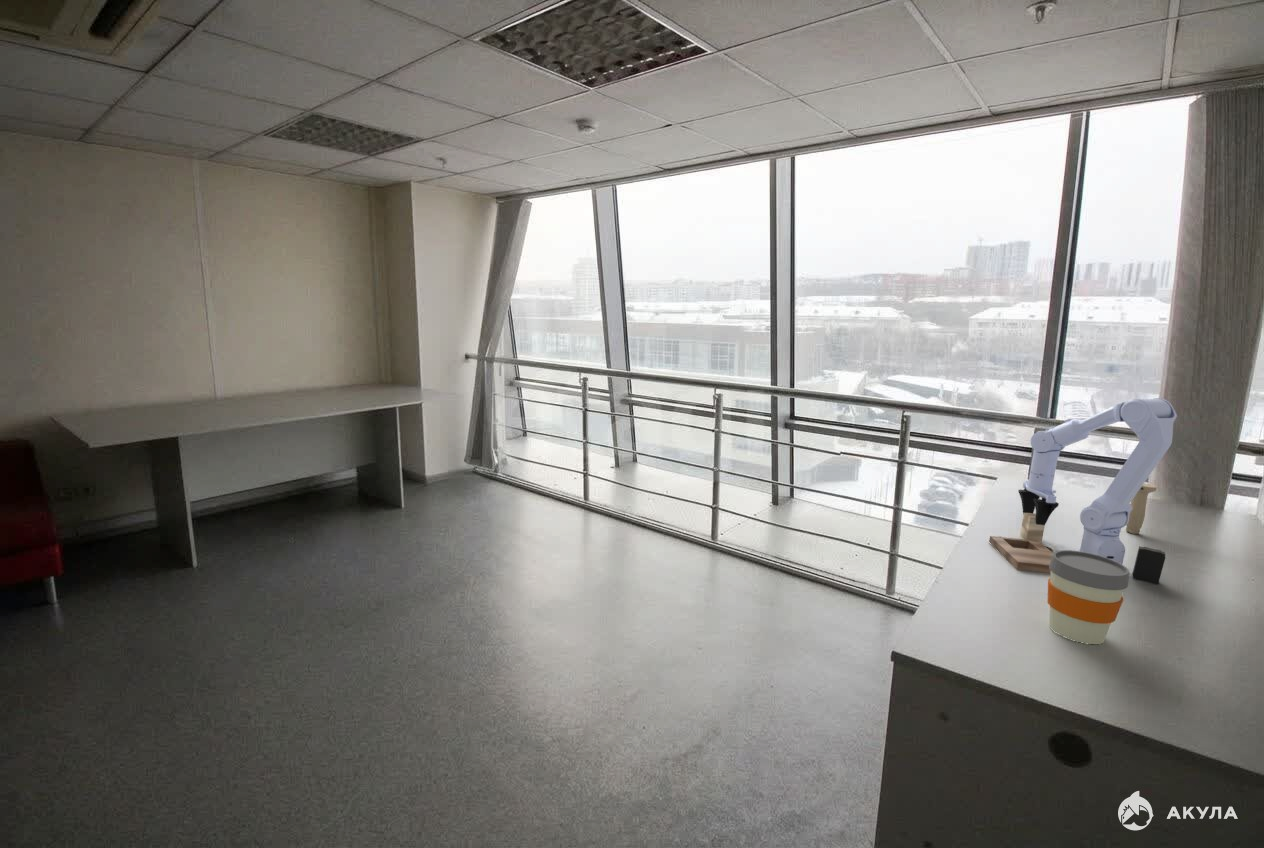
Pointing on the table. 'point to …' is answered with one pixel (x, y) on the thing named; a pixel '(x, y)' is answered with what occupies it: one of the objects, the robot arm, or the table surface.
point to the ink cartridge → (1148, 565)
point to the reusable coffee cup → (1084, 594)
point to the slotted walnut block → (1024, 553)
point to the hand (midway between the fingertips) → (1033, 519)
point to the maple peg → (1031, 528)
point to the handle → (1139, 508)
